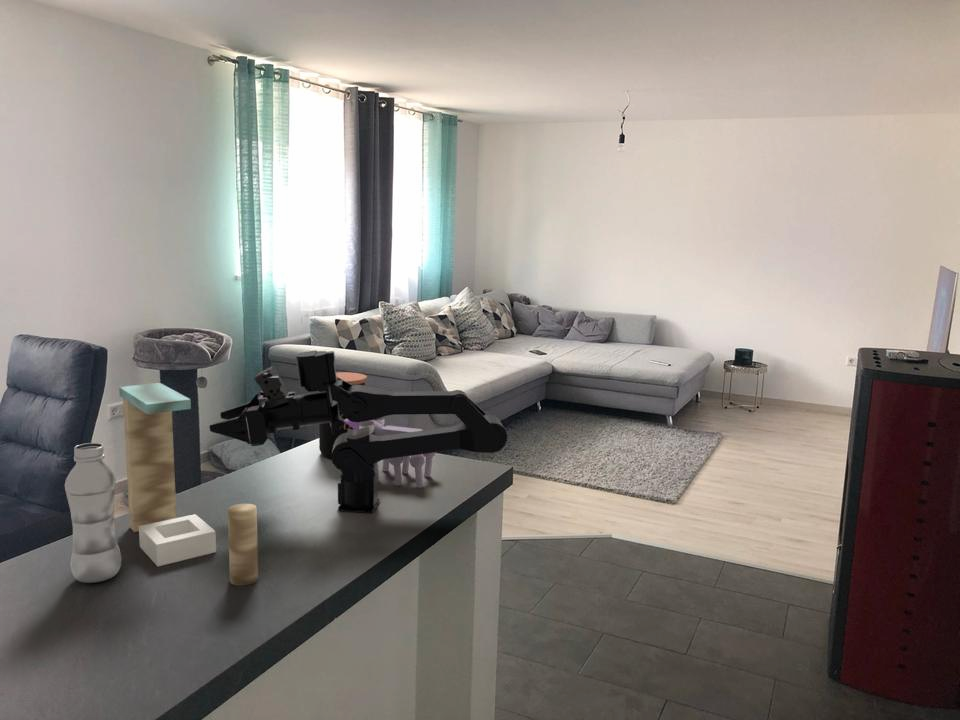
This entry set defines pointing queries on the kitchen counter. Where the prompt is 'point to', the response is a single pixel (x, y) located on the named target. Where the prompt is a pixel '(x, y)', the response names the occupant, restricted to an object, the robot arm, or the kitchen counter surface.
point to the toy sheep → (415, 460)
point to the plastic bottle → (92, 516)
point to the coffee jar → (325, 429)
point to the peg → (243, 544)
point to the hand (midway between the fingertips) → (215, 421)
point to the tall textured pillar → (150, 451)
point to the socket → (177, 539)
